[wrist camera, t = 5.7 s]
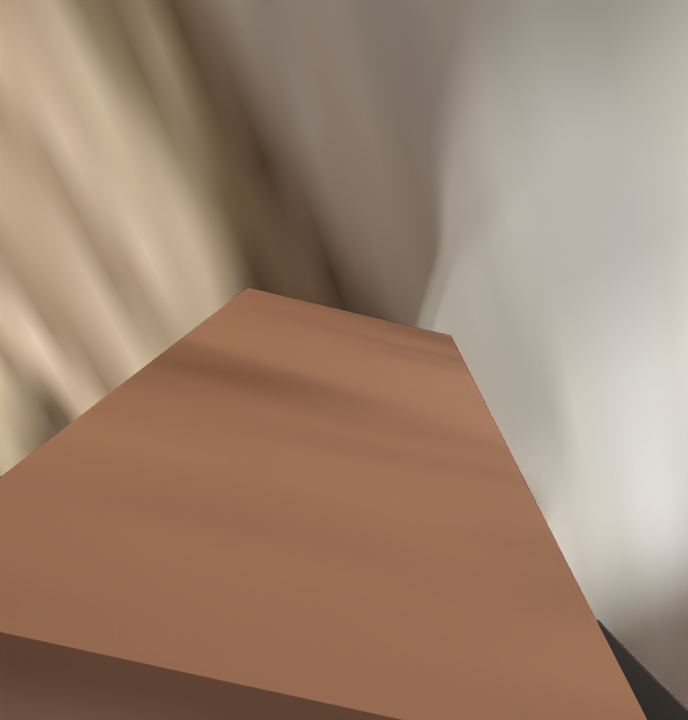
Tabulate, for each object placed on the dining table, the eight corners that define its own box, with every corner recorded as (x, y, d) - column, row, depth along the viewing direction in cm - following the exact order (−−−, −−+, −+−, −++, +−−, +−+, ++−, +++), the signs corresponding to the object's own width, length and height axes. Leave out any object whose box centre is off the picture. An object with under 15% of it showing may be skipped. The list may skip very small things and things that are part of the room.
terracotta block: (395, 494, 12) (428, 1005, 4) (226, 455, 12) (-32, 912, 4) (450, 335, 10) (678, 779, 2) (247, 287, 10) (-157, 598, 2)
